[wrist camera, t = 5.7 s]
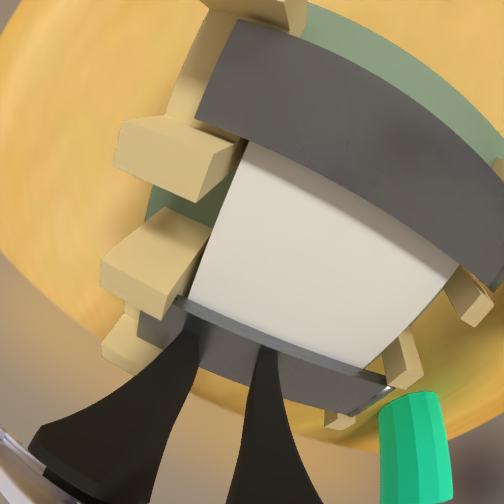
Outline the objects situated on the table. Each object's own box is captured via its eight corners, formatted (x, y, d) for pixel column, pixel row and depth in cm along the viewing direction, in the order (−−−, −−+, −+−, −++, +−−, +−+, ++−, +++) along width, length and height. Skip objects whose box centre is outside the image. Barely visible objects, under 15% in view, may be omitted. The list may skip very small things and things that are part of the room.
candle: (380, 427, 20) (379, 533, 10) (374, 403, 18) (374, 535, 8) (436, 411, 18) (447, 515, 8) (440, 382, 16) (461, 511, 6)
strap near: (528, 221, 6) (539, 230, 5) (487, 283, 7) (496, 295, 6) (244, 26, 5) (237, 17, 5) (203, 117, 7) (192, 118, 6)
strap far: (394, 377, 10) (397, 390, 10) (355, 405, 12) (356, 418, 11) (152, 278, 10) (142, 291, 9) (143, 325, 11) (135, 337, 11)
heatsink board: (503, 154, 8) (586, 196, 3) (336, 373, 17) (335, 451, 11) (243, -5, 7) (191, -76, 2) (142, 290, 16) (90, 358, 11)
